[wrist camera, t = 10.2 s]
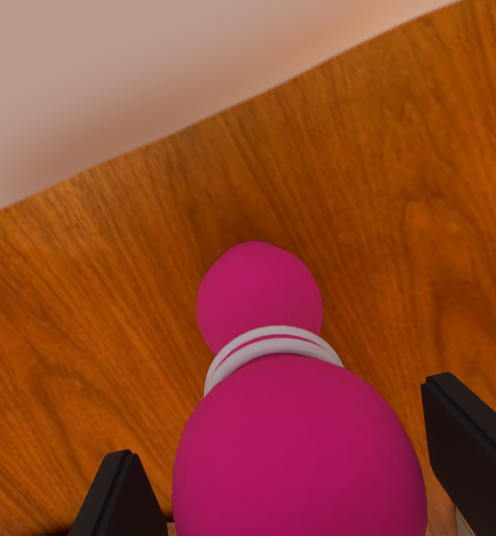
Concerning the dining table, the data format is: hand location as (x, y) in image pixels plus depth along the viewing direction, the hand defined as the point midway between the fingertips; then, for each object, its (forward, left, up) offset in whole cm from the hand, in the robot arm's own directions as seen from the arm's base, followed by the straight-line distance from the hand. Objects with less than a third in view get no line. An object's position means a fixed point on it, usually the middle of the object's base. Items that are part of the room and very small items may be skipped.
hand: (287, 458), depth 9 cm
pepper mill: (0, 0, -16) cm, 16 cm away
